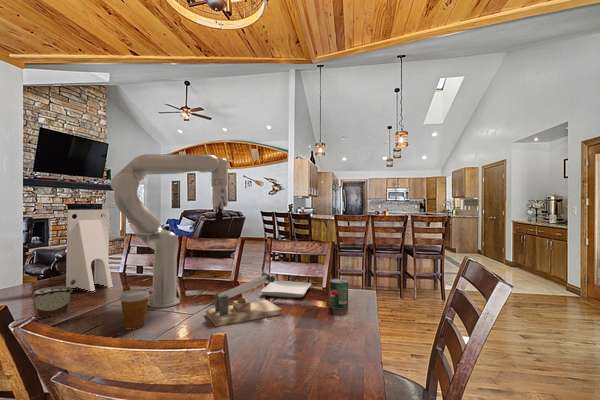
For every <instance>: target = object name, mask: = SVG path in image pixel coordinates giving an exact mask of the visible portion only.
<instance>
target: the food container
mask: <svg viewBox="0 0 600 400" xmlns="http://www.w3.org/2000/svg"><path fill="white" fill-rule="evenodd" d="M71 293H73V289H71V287H68V286H66V285H65V286H63V285H61V286H50V287H44V288H40V289H37V290H35V291H34V292H33V294H32V298H34V302H35V311H36V319H37V318H38V317H44V316H51V315H55V314H60V313H66V312H69V305H70V298H71ZM51 317H52V316H51Z"/></svg>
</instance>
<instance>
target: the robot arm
mask: <svg viewBox="0 0 600 400" xmlns="http://www.w3.org/2000/svg"><path fill="white" fill-rule="evenodd" d="M189 172H198V173H211V180H210V181H211V187H212V198H211V199H212V200H211V201H212V206H213V207H214V209H215V210H214V211H215V213H214V214H215V215H214V216H215V217H214V221H215V222H223V220H224V217H223V215H224V213H223V212H224V208H225V207H227V206H228V189H227V188H228V160H227V159H226V158H224V157H216V156H215V155H213V154H202V153H201V154H196V153H195V154H160V153H159V154H157V153H156V154H155V153H152V154H151V153H145V154H141V155H138V156H136V157H135V158H133V159H132V160H131V161H129V162H128V164H127V165H125V166H124V167H123V168H122V169H121V170H120V171H119V172H117V173H116V174H115V175H114V176H113V177H112V179H111V181H110V188H111V189H112V191H113V198H114V199H113V200H114V203H115V206H116V208H117V209H118V211H119V213H121V214H122V215H123V216H124V217H125V219H126V220H128V221H129V228H130V229H131V230H132V232H133V233H134V234H135V235H136V237H138V238H139V239H140V240H141V241H142V242H143V243H145V244H146V245H147V247H149V248H150V249H152V250H154V252H153V258H152V292H151V293H150V296H149V298H148V304H147V306H149V307H150V308H157V309H158V308H159V309H161V308H169V307H172V306H177V305H178V304H180V303H181V299H180V298H179V297H177V276H178V275H177V272H178V269H177V267H178V266H177V265H178V261H177V259H178V253H179V252H178V251H179V246H180V245H179V243H180V242H179V238H178V236H177V235H176V234H175V233H174V231H171V230H166V229H163V228H162V227H161V225H160V220H159V218H158V217H157V216H156V215H155V214H154V213H153V212H152V211H151V210H150V209H149V208H148V207H147V206H146V205H145V203H143V202H142V201H141V199H140V198H139V195H138V194H139V193H138V190H139V187H140V182H141V181H142V180H143V179H144V178H145V177H146V176H147V175H175V174H176V175H177V174H184V173H189Z"/></svg>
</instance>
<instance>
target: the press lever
mask: <svg viewBox="0 0 600 400" xmlns="http://www.w3.org/2000/svg"><path fill="white" fill-rule="evenodd" d="M274 281H276V278H275V275H274V273H271V272H268V273H266V272H262V274H261V275H260V276H259V277H257V278H255V279H252V280H249V281H247V282H244V283H242V284H240V285H237V286H235V287H233V288H230V289H228V290H225V291H222V292H223V293H220V294H218V299H219V300H220V296H227V295H228V299H231V298H233V297H235V296H238V295H240V294H242V293H245V292H247V291H250V290H251V289H252V290H253V289H254V288H256V287H259V286H261V285H263V284H266V283H268V282H269V283H271V282H272V283H273V282H274Z"/></svg>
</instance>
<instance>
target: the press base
mask: <svg viewBox="0 0 600 400" xmlns="http://www.w3.org/2000/svg"><path fill="white" fill-rule="evenodd" d="M223 292H224V291H222V292H215V295H214V296H215V302H214V308H209V309H208V308H206V309H205V315H206V317H208V319H210V321H211V322H212V323H213V324H214V325H215V327H220V326H225V325H229V324H236V323H240V322H246V321H251V320H258V319H263V318H269V317H272V316H273V317H274V316H279V315H282V311H283V310H282V308H281V307H279V306H278V305H276V304H274V303H273V302H271V301H269V300H268V299H266V300H265V299H264V300H258V301H253V302H251V301H248V300H247V299H245V298H244V297H239V298H238V300H237V299H236V300H232V305H229V298H228V295H227V296H220V300H219V299H218V294H220V293H223Z"/></svg>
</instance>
